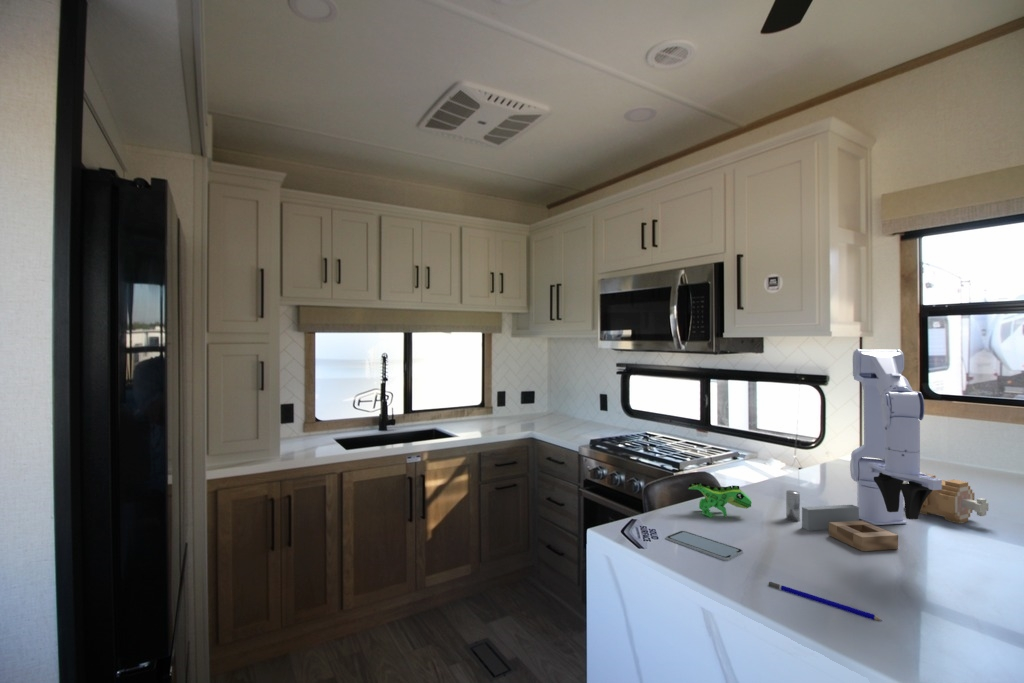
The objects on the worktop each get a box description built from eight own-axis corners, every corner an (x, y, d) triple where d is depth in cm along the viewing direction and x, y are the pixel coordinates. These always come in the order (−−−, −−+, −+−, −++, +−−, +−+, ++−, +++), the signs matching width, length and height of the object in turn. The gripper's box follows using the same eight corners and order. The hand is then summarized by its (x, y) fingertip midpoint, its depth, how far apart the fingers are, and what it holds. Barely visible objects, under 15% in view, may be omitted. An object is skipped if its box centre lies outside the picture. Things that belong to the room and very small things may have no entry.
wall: (852, 524, 122) (852, 504, 122) (858, 527, 120) (858, 507, 120) (801, 527, 119) (802, 507, 119) (808, 530, 117) (808, 509, 117)
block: (862, 533, 116) (862, 520, 116) (898, 548, 107) (898, 535, 107) (828, 535, 114) (828, 522, 114) (862, 551, 105) (862, 537, 105)
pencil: (767, 587, 90) (767, 581, 90) (769, 585, 91) (769, 580, 91) (882, 624, 78) (882, 618, 78) (882, 622, 79) (882, 616, 79)
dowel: (793, 517, 127) (793, 490, 127) (802, 521, 124) (802, 493, 124) (783, 517, 126) (783, 490, 126) (791, 521, 123) (792, 494, 123)
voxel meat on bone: (912, 503, 139) (912, 468, 139) (994, 525, 122) (994, 485, 122) (890, 508, 135) (890, 471, 135) (973, 530, 118) (973, 489, 118)
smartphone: (682, 530, 116) (744, 550, 105) (682, 533, 116) (744, 554, 105) (664, 537, 112) (727, 559, 100) (664, 540, 112) (727, 563, 100)
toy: (742, 531, 124) (757, 495, 124) (683, 506, 127) (697, 470, 127) (737, 523, 130) (751, 488, 130) (680, 499, 133) (693, 465, 133)
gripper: (855, 443, 108) (855, 504, 108) (920, 457, 94) (920, 528, 93) (883, 442, 109) (883, 503, 109) (950, 456, 95) (951, 527, 95)
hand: (902, 515), depth 101 cm, fingers open, 4 cm apart
